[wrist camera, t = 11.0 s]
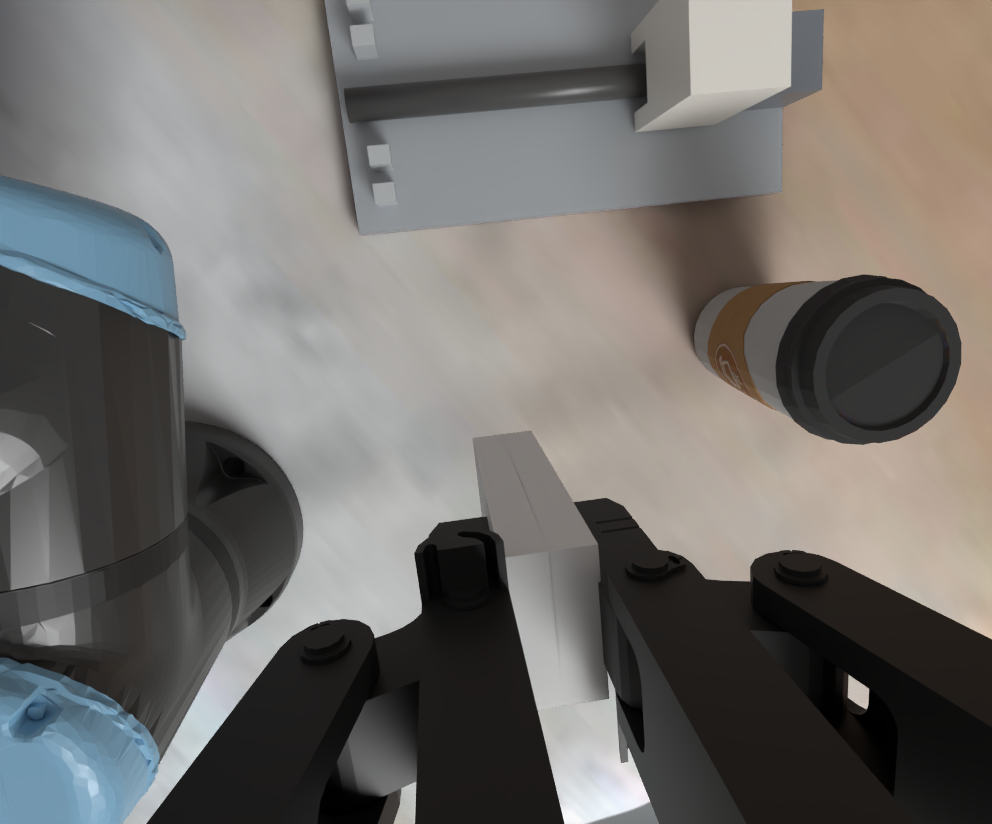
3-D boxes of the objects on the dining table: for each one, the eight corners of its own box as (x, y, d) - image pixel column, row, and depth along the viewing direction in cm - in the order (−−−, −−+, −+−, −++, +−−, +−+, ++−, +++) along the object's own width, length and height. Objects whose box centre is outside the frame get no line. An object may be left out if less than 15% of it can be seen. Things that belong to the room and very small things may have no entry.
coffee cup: (655, 315, 42) (772, 341, 27) (760, 248, 42) (934, 238, 27) (709, 413, 44) (844, 486, 30) (810, 350, 44) (996, 392, 29)
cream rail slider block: (635, 132, 37) (690, 95, 29) (630, 33, 36) (687, -34, 28) (714, 124, 38) (791, 86, 30) (712, 27, 36) (792, -42, 28)
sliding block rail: (362, 235, 39) (350, 230, 34) (325, -14, 36) (305, -63, 30) (769, 194, 41) (819, 183, 35) (770, -47, 37) (826, -98, 32)
